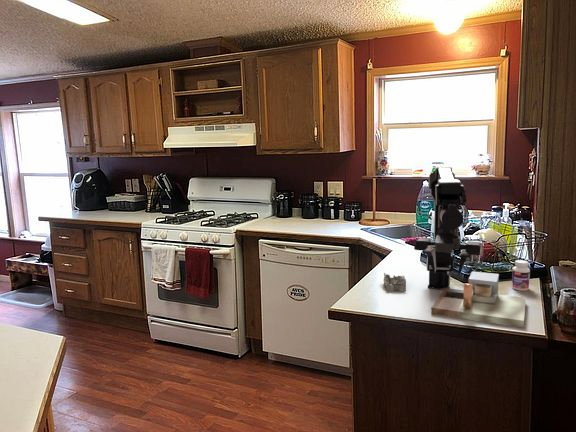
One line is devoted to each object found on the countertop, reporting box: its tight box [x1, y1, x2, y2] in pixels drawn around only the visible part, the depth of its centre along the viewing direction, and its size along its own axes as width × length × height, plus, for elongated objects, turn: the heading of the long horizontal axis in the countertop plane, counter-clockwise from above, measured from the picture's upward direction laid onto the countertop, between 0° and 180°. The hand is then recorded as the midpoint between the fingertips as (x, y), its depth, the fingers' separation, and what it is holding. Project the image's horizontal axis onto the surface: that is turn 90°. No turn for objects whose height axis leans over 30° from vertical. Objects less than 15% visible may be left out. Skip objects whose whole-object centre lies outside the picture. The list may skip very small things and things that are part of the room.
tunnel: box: [468, 271, 500, 297], centre depth 146 cm, size 8×9×7 cm
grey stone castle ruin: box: [383, 272, 407, 292], centre depth 167 cm, size 11×8×4 cm
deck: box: [430, 287, 527, 329], centre depth 143 cm, size 25×21×2 cm
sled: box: [462, 282, 497, 308], centre depth 142 cm, size 8×15×7 cm, turn 152°
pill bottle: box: [511, 259, 531, 292], centre depth 161 cm, size 5×5×10 cm
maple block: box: [475, 283, 492, 297], centre depth 146 cm, size 4×4×4 cm
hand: (446, 273), depth 140 cm, fingers open, 7 cm apart
